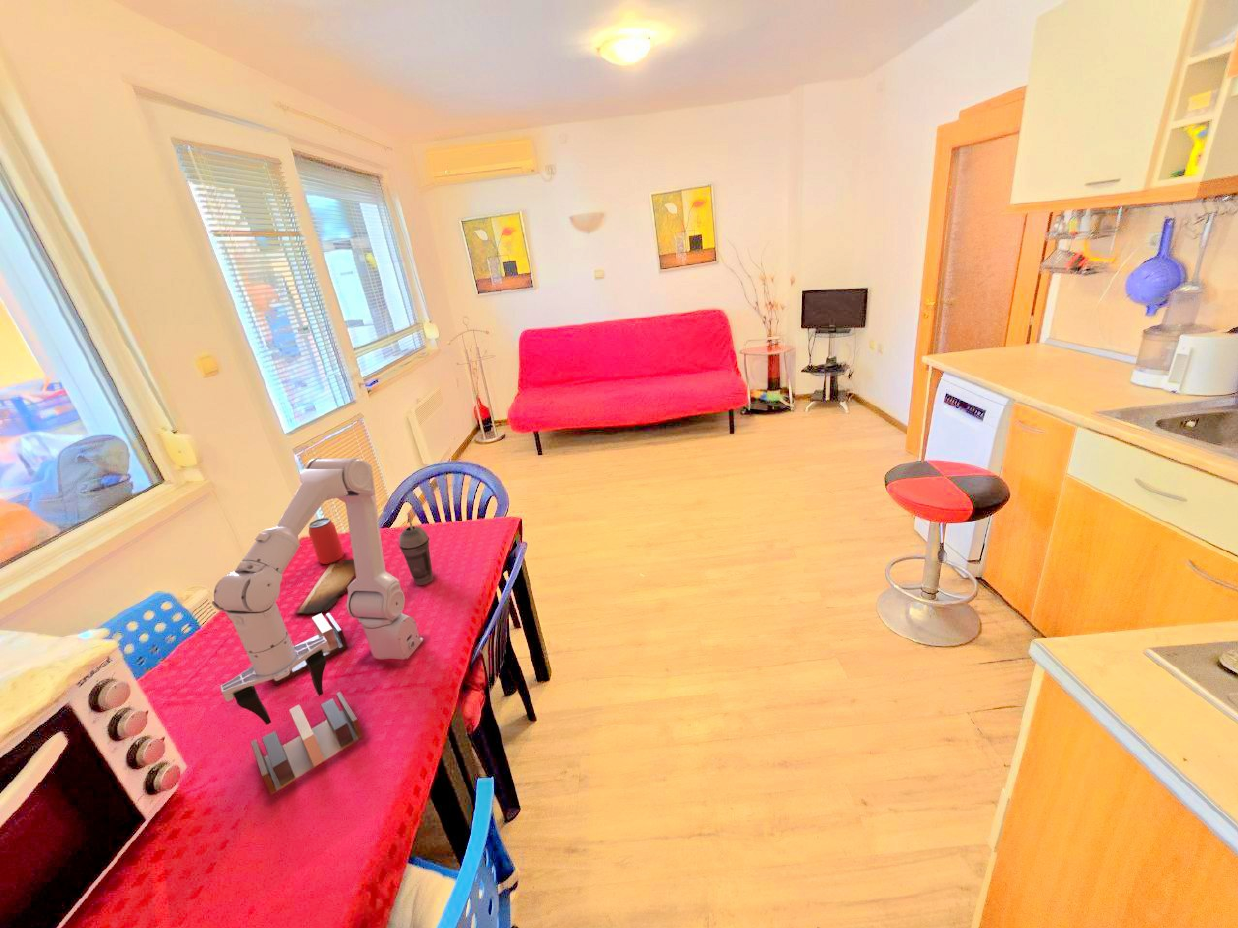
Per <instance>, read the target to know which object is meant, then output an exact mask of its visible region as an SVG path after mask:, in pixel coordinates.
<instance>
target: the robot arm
mask: <svg viewBox="0 0 1238 928" xmlns="http://www.w3.org/2000/svg"><path fill="white" fill-rule="evenodd" d="M299 481H300V485H299V487H298V488H297V490H296V491H295V492H296V493H294V495H293V497H292V499H291V500H290V502H289V504H288V506H287V507H286V509H285V511H284V512H283V514H282V516H281V517H280V520H279V521H278V522H277V524H276V526H274V527H271V528H266V529H264V530H263V531H262V532H259V533H258V535H257V536H256V538H255V540H254V541H255V542H254V543H253V545H252V546H251V548H250V549H249V551H247V553H246V554H245V556H244V558H242V560H241V561H240V562H239V563H238V565H237V566H236V568H235V569H234V571H231V572H229V573H228V574H225V575H224V576H223V577H222V578H220V579H219V580H218V582H217V583H216V584H215V587H214V589H213V600H212V601H211V604H212V606H213V608H215V609H216V610H217V611H219V612H223V613H225V614H226V615H227V618H228V620H231V621H232V625H233V626H234V628H235V630H236V633H237V635H238V637H239V640H240V642H241V645H242V647H243V649H244V651H245V653H246V655H247V657H248V660H249V662H250V664H251V666H250V667H248V668H247V669H245V670H244V671H242V672H241V673H239V674H237V675H236V676H235V677H233V678H232V679H230V680H229V681H226V682H224V683H223V684H220V686H219V688H220V691H221V695H222V696H223V698H224V700H225V702H226V703H227V702H229V701H232V700H233V699H235V701H236V703H237V705H238V706H239V707H240V708H241V709H245V710H247V711H249V712H252V713H253V714H255V715H256V716H257V717H259V718H260V719H261V720H262V721H263V722H264V724H265V725H266V726H267V725H269V724H271V723H272V721H271V717H270V715H269V713H268V710H267V709H266V707H265V705H264V704H263V702H262V701H261V698H260V696H259V694H258V692H257V690H256V687H255V686H257V685H258V684H262V683H265V682H268V681H271V680H272V679H274V680H275V681H278V680H280V679H282V678H284V677H286V676H288V675H289V674H290V670H291V669H293V668H294V667H296V666H297V665H298V664H300V663H301V662H303V661H304V660H305V661H306V664H307V666H308V669H307V670H308V671H309V673H310V677H311V681H312V684H313V685H312V686H313V687H314V689H315V691H316V693H317V695H318V697H320V696H323V695H324V691H323V678H324V672H325V669H326V665H327V659H326V658H325V656H324V654H323V653H325V652H327V651H329V650H330V648H329V645H328V642H327V640H326V639H325V637H324V636H322V637H320V638H318V639H315V640H312V641H309V642H306V643H303V644H300V643H298V644H299V645H298V644H296V645H294V644H293V641H292V639H291V637H290V634H289V631H288V629H287V627H286V624H285V621H284V618H283V617H282V614H281V611H280V608H279V606H278V604H277V600H278V599H279V597H280V593H281V582H282V580H283V577H284V576H283V574H284V572H285V570H286V569H287V568H288V566H289V564H290V563H291V561H292V560H293V558H294V557H295V555H296V554H297V552H298V550H299V549H300V548H301V543H300V540H299V535H300V534H301V533H302V531H304V528H305V527H306V526H307V525H308V523H309V522H310V521H311V519H312V518H313V517H314V516H315V514H316V513H317V512H318V511H319V510H320V508H321V507H322V505H323V503H325V502H326V501H329V500H332V499H338V500H339V501H341V502H343V503H344V504H345V509H346V516H347V524H348V530H349V537H350V543H351V550H352V559H354V565H355V578H354V579H353V580H351V581H350V583H349V584H348V586H347V600H346V611H347V613H348V615H349V616H350V617H351V618H353V619H355V618H356V620H357V623H360V624H361V625H362V629H363V632H364V634H365V638H366V640H367V643H368V647H369V649H370V652H371V655H372V657H373V658H374V659H376V660H388V659H392V660H394V659H395V660H408V659H409V658H410V657H411V656H412V655H413V654H414V652H415V651H416V650H417V649H418V648H419V646H420V645H421V644H422V643H423V642H424V638H423V637H421V636H420V633H419V629H418V626H417V622H416V620H415V618H414V617H413V616H410V615H407V614H405V613H403V611H404V608H405V604H406V596H405V593H404V592H403V589H402V588H401V583H400V580H399V579H398V578H397V577H395V576H393V574H391V573H389V572H388V571H387V570H386V566H385V557H384V549H383V543H382V535H381V534H382V533H381V528H380V520H379V513H378V505H377V498H376V488H375V481H374V473H373V466H372V464H370V463H369V462H368V461H367V460H365V459H363V458H361V457H347V458H343V457H342V458H322V457H315V458H312V459H310V460H309V461H308V462H307V463H306V465H305V467H304V469H303V470H302V471H301V472H300V473H299ZM272 681H273V680H272Z"/></svg>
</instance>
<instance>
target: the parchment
mask: <svg viewBox="0 0 1238 928" xmlns="http://www.w3.org/2000/svg"><path fill="white" fill-rule="evenodd" d="M355 576H356V572H355V565H354V558H349V559H342V561H336V562H333V563H330V564H329V566H328V567H327V568H326V569H325V571H324V572H323V574H322V575H321V576H320V577H319V579H318V580H317V582H316V583H315V585H314V586H313V588H312V589H311V591H310V592H309V594H308V595H307V596H306V598H305V599H304V601H303V603H302V604H301V606H300V607H299V609H297V611H296V612H295V614H296V615H298V614H304V615H305V614H306V615H310V614H315V613H320V612H321V613H326V612H327V611H329V609H332V607H333V606H334V605H336V603H337V601H338V599H339V597H340V596H342V595H344V594H345V593H346V590H348V588H347V587H348V586H349V585H350V583H351V582H352V581H353V579H354V577H355Z"/></svg>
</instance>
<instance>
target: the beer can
mask: <svg viewBox="0 0 1238 928" xmlns="http://www.w3.org/2000/svg"><path fill="white" fill-rule="evenodd" d="M308 536H309V538H310V541H311V544H312V546H313V549H314V552H315V554H316V559H317V560H318V563H320V564H321V565H330V564H331V563H333V562H339V561H340V560H342V558H343V557H344V550H343V547H342V543H341V540H340V538H339V537H340V536H339V534H338V531H337V529H336V525H335V524H334V523H333V521H332V520H331V519H330V517H329V518H328V517H324V518H318V519H316V520H313V521H312V522H310V523H309V524H308Z"/></svg>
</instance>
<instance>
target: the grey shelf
mask: <svg viewBox="0 0 1238 928" xmlns="http://www.w3.org/2000/svg"><path fill="white" fill-rule="evenodd" d="M335 695H336V698H337V700H338V704H339V706H340V708H339V707H338V705H337V703H336V702H335V699H334V698H333V697H332V698H330V699H328V700H326V701H324V702H323V703H321V704H320V707H321V709H322V712H323V715H324V717H325V720H323V721H322V722H320V723H318V724H317V725H315V726H313V727H311V729H312V731H313V733H314V735H315V738H316V740H317V743H318V745H319V747H320V750H321V752H322V754H323V757H324V759H325V761H327V760H328V759H330V758H332V757H333V756H335V755H336V754H338V753H340V752H341V751H343V750H345V749H346V748H347V747H349V746H351V745H352V744H354V743H355V742H357V741H359V740H361V738H363V737H364V733H363V730H362V728H361V725H360V723H359V720H358V717H357V716H356V714H355V713H354V711H353V709H352V708H351V706H350V704H349V703H348V701H347V699H346V697H345V696H344V694H343V693H342V691H339V692H337V693H335ZM261 740H262V743H263V746H264V749H265V751H266V755H265V754H264V753H263V750H262V748H261V745H260V744H259V742H258V740H257V739H256V738H255V739H254V740H252V741H250V745H251V748H252V750H253V751H252V752H253V754H254V757H255V760H256V763H257V766H258V769H259V772H260V776H261V778H262V780H263V781H264V784H265V786H266V788H267V790H268V792H269V794H270V795H271V796H272V795H273V794H275V793H277V792H278V791H279V790H281V789H283V788H284V787H286V786H287V785H289V784H291V783H292V782H294V781H295V780H297V779H299V778H300V777H301V776H303V775H305V774H306V773H308V772H310V771H312V770H313V769H314V768H316V767H317V766H319V765H320V764H322V763H323V762H325V761H323V762H322V763H320V764H318V765H317V766H315V767H314V765H313V763H312V761H311V758H310V756H309V754H308V752H307V750H306V747H305V745H304V743H303V741H302V739H301V736H300V735H297V736H296V737H294V738H293V739H291V740H290V741H287V742H286V743H284V744H282V742H281V739H280V737H279V735H278V733H277V731H276V730H273V731H272V732H269V733H268V734H266V735H265V736H263V737H261Z"/></svg>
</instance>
